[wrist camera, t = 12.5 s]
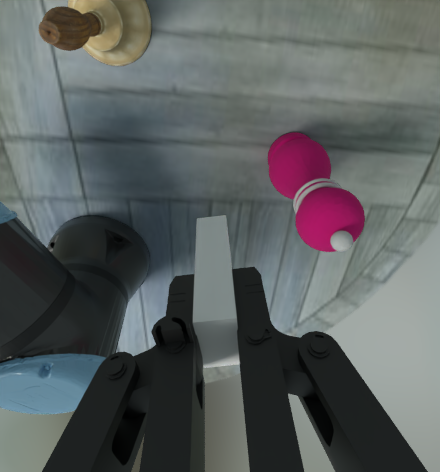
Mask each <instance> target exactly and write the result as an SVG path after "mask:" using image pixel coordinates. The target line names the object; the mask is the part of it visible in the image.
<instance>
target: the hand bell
mask: <svg viewBox="0 0 440 472" xmlns="http://www.w3.org/2000/svg"><path fill="white" fill-rule="evenodd" d="M39 33H40V35H41V37H42V39H43V40H44V41H46V42H47V43H49V44H52V45H54V46H55V47H57V48H59V49H62V50H68V51H71V50H76V49H79V48H81V47H83V48H84V49H85V51H87V52H88V53H89V54H90V55H91V56H92V57H93V58H95V59H96V60H98V61H100V62H102V63H104V64H107V65H112V66H124V65H128V64H131V63H133V62H134V61H136V60H137V59H139V58H140V57H141V56H142V54H143V53H144V52H145V50H146V48H147V46H148V44H149V41H150V36H151V17H150V12H149V9H148V6H147V3H146V1H145V0H69V1H68V7H55V8H52V9H51V10H49V11H48V12H47V13H46V14H45V16H44V18H43V20H42V22H41V23H40V25H39Z"/></svg>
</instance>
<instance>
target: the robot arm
mask: <svg viewBox="0 0 440 472" xmlns="http://www.w3.org/2000/svg"><path fill="white" fill-rule="evenodd" d="M149 263H150V256H149V251H148V248H147V246H146V244H145V243H144V241H143V240H142V238H141V237H140V236H139V235H138V234H137V233H136V232H135V231H134V230H132V229H131V228H130V227H128V226H126V225H125V224H123V223H121V222H118V221H116V220H113V219H110V218H106V217H100V216H84V217H79V218H75V219H72V220H70V221H68V222H66V223H64V224H63V225H62V226H61V227H60V228H59V229H58V230H57V231H56V233H55V234H54V236H53V237H52V239H51V240H50V242H49V245H48V247H47V248H46V247H45V246H44V245H43V244H42V243H41V242H40V241H39V239H38V238H37V237H36V236H35V235H34V234H33V233H32V232H31V231H30V230H29V229H28V228H27V227H26V226H25V225H24V224H23V223H22V222H21V221H20V220H19V219H18V218H17V214H16V213H15V212H14V211H10V210H9V209H8V208H7V207H6V206H5V205H4V204H3V203H2V202H1V201H0V407H1V408H4V409H7V410H11V411H16V412H21V413H30V414H58V413H65V412H71V411H75V412H74V414H73V415H72V417H71V419H70V421H69V423H68V425H67V426H66V428H65V430H64V432H63V434H62V436H61V438H60V439H59V441H58V443H57V445H56V447H55V449H54V451H53V452H52V454H51V456H50V458H49V460H48V462H47V463H46V466H45V467H44V469H43V471H42V472H131V470H132V467H133V465H134V462H135V459H136V456H137V453H138V450H139V448H140V445H141V442H142V439H143V436H144V434H145V436H144V443H143V451H142V458H141V464H140V472H205V421H204V420H205V396H204V395H205V388H204V387H205V382H204V378H203V366H204V368H207V367H217V366H227V365H237V364H240V371H241V382H242V392H243V403H244V413H245V424H246V434H247V445H248V455H249V466H250V472H304V468H303V464H302V459H301V454H300V450H299V445H298V440H297V436H296V431H295V427H294V422H293V417H292V412H291V407H290V403H289V399H288V393H289V394H293V395H297V396H298V397H299V399H300V401H301V403H302V405H303V407H304V409H305V411H306V413H307V415H308V417H309V419H310V421H311V423H312V425H313V427H314V429H315V431H316V433H317V435H318V437H319V439H320V441H321V444H322V445H323V447H324V450H325V451H326V454H327V456H328V458H329V460H330V461H331V464H332V466H333V468H334V470H335V472H428V471H427V470H426V469H425V467H424V466H423V464H422V463H421V462H420V460H419V459H418V457H417V456H416V454H415V453H414V452H413V450H412V449H411V447H410V446H409V444H408V443H407V442H406V440H405V439H404V437H403V436H402V435H401V433H400V432H399V430H398V429H397V427H396V426H395V424H394V423H393V422H392V420H391V419H390V417H389V416H388V415H387V413H386V412H385V410H384V409H383V407H382V406H381V404H380V403H379V402H378V400H377V399H376V397H375V396H374V394H373V393H372V392H371V390H370V389H369V387H368V386H367V384H366V383H365V382H364V380H363V379H362V377H361V376H360V375H359V373H358V372H357V370H356V369H355V367H354V366H353V365H352V363H351V362H350V360H349V359H348V358H347V356H346V355H345V353H344V352H343V350H342V349H341V347H340V346H339V345H338V343H337V342H336V341H335V340H334V339H333V338H332V337H331V336H329V335H328V334H326V333H323V332H318V331H314V332H308V333H306V334H305V335H303V336H302V337H301V338H299V337H293V336H289V335H285V334H283V333H281V332H279V331H278V330H277V329H275V328H274V326H273V325H272V323H271V321H270V317H269V312H268V307H267V303H266V298H265V293H264V288H263V284H262V279H261V274H260V273H259V272H258V271H257V270H256V268H255V267H248V268H239V269H232V261H231V252H230V244H229V236H228V227H227V219H226V215H222V216H213V217H205V218H197V225H196V250H195V274H191V275H182V276H175V278H174V279H173V281H172V282H171V284H170V287H169V296H168V304H167V310H166V316H165V317H163V318H162V319H160V320H158V322H157V323H156V324H155V325H154V327H153V329H152V335H153V337H154V340H155V342H156V345H155V346H154V347H153V348H151V349H149V350H148V351H145V352H143V353H141V354H138V355H136V356H132V355H131V354H129V353H126V352H117V353H116V349H117V345H118V341H119V337H120V333H121V329H122V325H123V320H124V316H125V312H126V308H127V304H128V302H129V300H130V299H131V298H132V296H133V295H134V294H135V292H136V291H137V289H138V288H139V287H140V286H141V285H142V283H143V282H144V280H145V278H146V276H147V272H148V268H149Z"/></svg>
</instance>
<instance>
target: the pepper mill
mask: <svg viewBox="0 0 440 472" xmlns="http://www.w3.org/2000/svg"><path fill="white" fill-rule="evenodd" d="M268 164H269V176H270V179H271V182H272V184H273V185H274V187H275V188H276V189H277V191H278V192H280V193H281V194H282V195H284V196H285V197H288V198H290V199H293V200H294V201H293V208H294V211H295V213H296V228H297V231H298V233H299V235H300V237H301V238H302V240H303V241H304V242H305V243H306V244H308V245H309V246H310V247H312V248H314V249H316V250H320V251H325V252H333V251H340V252H344V251H347V250H349V249H350V248H351V247H352V244H353V242H354V241H355V240H356V239H357V238H358V237H359V235H360V234H361V232H362V230H363V227H364V221H365V216H364V210H363V207H362V206H361V204H360V202H359V200H358V199H357V198H356V197H355V196H354V195H353V194H351V193H350V192H349V191H347V190H344V189H342V188H341V187H340V185H339V184H338V183H336V182H335V181H333V180H331V179H330V174H331V164H330V159H329V157H328V155H327V153H326V151H325V149H324V148H323V147H322V146H321V145H320V144H319V143H317V142H315V141H313V140H311V139H310V138H309V137H308V136H306V135H304V134H302V133H296V132H293V133H288V134H285V135H283V136H281V137H279V138H278V139H277V140H276V141H275V142H274V143H273V144H272V146H271V148H270V150H269V153H268Z"/></svg>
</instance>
